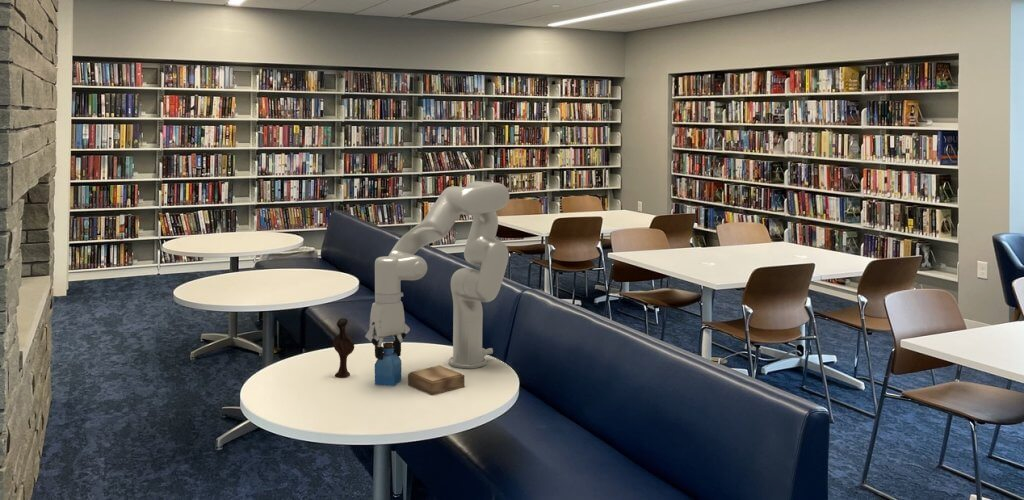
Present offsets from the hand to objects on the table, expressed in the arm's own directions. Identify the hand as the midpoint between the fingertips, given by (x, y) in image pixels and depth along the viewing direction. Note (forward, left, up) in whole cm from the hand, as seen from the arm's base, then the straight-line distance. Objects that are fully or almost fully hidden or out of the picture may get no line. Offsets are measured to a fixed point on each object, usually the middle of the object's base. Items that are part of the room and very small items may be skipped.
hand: (388, 356), depth 237 cm
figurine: (+7, -14, -8) cm, 18 cm away
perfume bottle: (0, 0, -8) cm, 8 cm away
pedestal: (-9, +12, -8) cm, 17 cm away
